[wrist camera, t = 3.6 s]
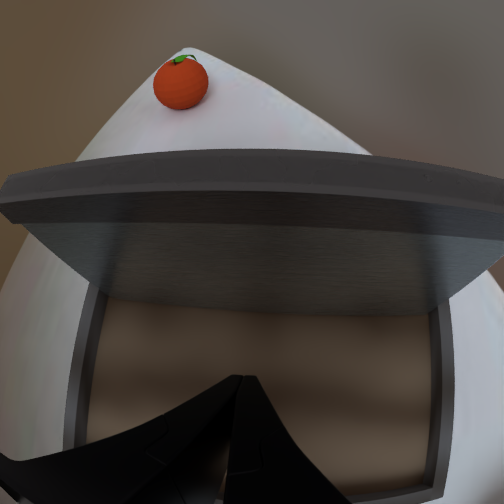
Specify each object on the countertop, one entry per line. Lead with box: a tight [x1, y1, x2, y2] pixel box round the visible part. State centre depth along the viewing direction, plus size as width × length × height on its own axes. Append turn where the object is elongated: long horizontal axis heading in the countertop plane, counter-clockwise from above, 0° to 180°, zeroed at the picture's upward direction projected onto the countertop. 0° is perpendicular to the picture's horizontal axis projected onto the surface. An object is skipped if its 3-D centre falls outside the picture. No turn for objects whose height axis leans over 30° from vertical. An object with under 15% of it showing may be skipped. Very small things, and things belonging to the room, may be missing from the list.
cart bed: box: [63, 283, 455, 504], centre depth 16 cm, size 14×25×4 cm, turn 85°
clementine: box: [153, 55, 208, 109], centre depth 31 cm, size 8×7×7 cm
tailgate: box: [0, 149, 504, 316], centre depth 13 cm, size 2×22×12 cm, turn 85°
